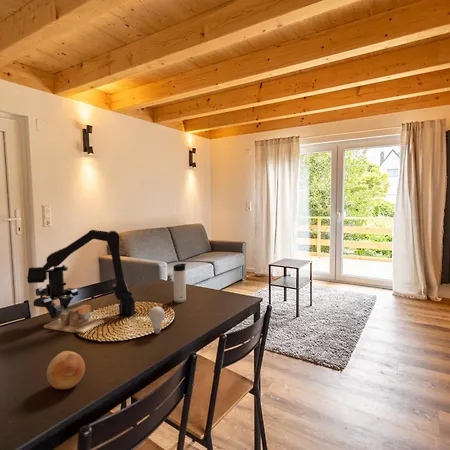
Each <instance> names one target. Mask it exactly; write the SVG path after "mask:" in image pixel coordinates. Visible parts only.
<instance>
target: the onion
mask: <svg viewBox="0 0 450 450" xmlns="http://www.w3.org/2000/svg"><path fill="white" fill-rule="evenodd" d="M85 371H86V364H85V360H84V359H83V358H82V356H81V355H80V354H78V353H77V352H75V351H71V350H62V351H61V352H60V353H58V354H57V355H56V356H54V357H53V358H52V360H51V361H50V362H49V364H48V366H47V370H46V378H47V381H48V383H49V384H50V385H51V387H53V388H54V389H57V390H69V389H72V388H74V387H75V386H76V385H77V384H78V383H79V382H80V381H81V380H82V378H83V377H84V374H85Z"/></svg>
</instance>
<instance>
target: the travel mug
mask: <svg viewBox="0 0 450 450" xmlns="http://www.w3.org/2000/svg"><path fill="white" fill-rule="evenodd" d="M186 264H187V263H177V264H175V265H173V272H172V273H173V301H174V302H175V303H179V304H181V303H185V302H187V293H186V292H187V291H186V290H187V287H186V284H187V283H186V278H187V277H186V266H187V265H186Z"/></svg>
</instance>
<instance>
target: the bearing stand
mask: <svg viewBox="0 0 450 450" xmlns="http://www.w3.org/2000/svg"><path fill="white" fill-rule="evenodd" d="M84 305H85V304H82V305H79V306H77V307H73V308H70V309H71V310H70V311H69V313H70V317H69V313H67V312H64V313H61V314H60V317H59V318H57V319H55V320H53V321H51V322H48V323H46V324H44V325H43V328H44V329H50V330H56V331H63V332H68V333H75V332H81V333H85V332H86V331H88V332H90V331H91V330H90V329H92V330H94V329H95V328H94V327H96V326H98V325H99V326H101V325H103V324H105V320H102V319H95V318H88V319H86V320H84V319H79V315H78V308H80V307H82V306H84ZM102 323H103V324H102ZM100 324H101V325H100ZM99 326H98V327H99ZM93 328H94V329H93ZM96 328H97V327H96ZM89 330H90V331H89ZM81 333H80V334H81ZM86 333H87V332H86ZM86 333H85V334H86ZM75 334H76V333H75Z"/></svg>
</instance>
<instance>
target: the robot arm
mask: <svg viewBox="0 0 450 450" xmlns="http://www.w3.org/2000/svg"><path fill="white" fill-rule="evenodd" d="M92 240H98V241H102V242H106V243H107V246H108V249H109V250H110V255H111V260H112V264H113V273H114V277H115V283H112V290H113V296H115V297H116V299H117V300H118V301H119V304H118V312H119V313H118V314H117V316H118V317H119V316H120V317H127V318H129V317H132V316H133V315H136V313H138V311H137V310H136V304H135V303H136V302H135V301H136V300H135V299H134V294H133V292H131V291H130V290H129V288H128V285H127V282H126V279H125V277H124V272H123V265H122V259H121V254H120V253H121V252H120V233H118V232H117V231H116V230H110V231H104V230H96V229H91V230H89V231H88V232H87V233H85V234H84V235H81V237H79V238H78V239H76V240H74V241H73V242H72V243H70V244H69V245H67V246H65V247H62V248H61V249H58V250H55V251H54V252H51V253H50V254H49V255H48V256H47V257H46V263H45V264H44V265H42V266H31V267H28V271H27V272H28V273H27V276H26V280H27V283H28V284H39V283H45V281H47V280H48V283H47V284H46V285H45V288H43V287H38V288H35V295H36V297H38V298H34V300H33V307H37V308H45V309H46V310H47V312H48V314H49V315H50V317H51V319H55V318H54V317H55V311H56V306H57V303H55V301H57V300H59V301H60V302H59V303H60V305H63V306H64V309H68V307H69V305H70V303H71V301H72V300H73V299H74V297H77V296H78V295H79V290H78V289H77V288H73V287H68V288H66V289H65V286H67V283H66V282H64V281H65V280H64V279H65V278H64V272H67V271H68V270H69V268H68V267H67V266H66V265H65V264H62V263H63V262H64V261H65V260H67V258H68V257H69V256H70V255H72V254H74V253H75V252H76V251H78V250H79V249H81V248H82V247H84V246H85V245H87V244H89V242H91V241H92ZM61 264H62V265H61ZM60 265H61V266H60ZM51 268H53V269H51ZM71 295H72V296H71Z"/></svg>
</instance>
